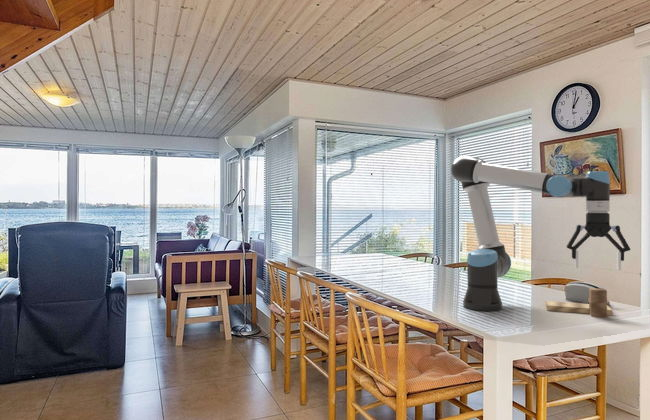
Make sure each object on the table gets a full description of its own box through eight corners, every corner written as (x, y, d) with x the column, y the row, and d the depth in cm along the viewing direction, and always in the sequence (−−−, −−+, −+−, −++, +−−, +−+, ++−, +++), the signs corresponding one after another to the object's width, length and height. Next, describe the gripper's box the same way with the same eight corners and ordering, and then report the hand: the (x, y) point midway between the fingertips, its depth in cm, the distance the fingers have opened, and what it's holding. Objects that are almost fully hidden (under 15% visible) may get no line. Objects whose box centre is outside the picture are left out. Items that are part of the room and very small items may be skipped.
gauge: (591, 316, 161) (591, 289, 161) (584, 307, 174) (584, 283, 175) (606, 317, 159) (606, 290, 159) (598, 308, 173) (598, 284, 173)
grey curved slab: (611, 305, 179) (606, 283, 178) (605, 310, 177) (600, 288, 176) (572, 297, 194) (567, 277, 192) (566, 302, 192) (561, 282, 190)
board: (547, 310, 170) (547, 305, 170) (545, 305, 179) (545, 300, 179) (612, 315, 162) (612, 310, 162) (607, 310, 170) (607, 305, 170)
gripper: (561, 212, 163) (560, 267, 163) (640, 212, 153) (639, 271, 153) (559, 212, 170) (558, 265, 170) (634, 212, 160) (634, 269, 160)
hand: (597, 268), depth 162 cm, fingers open, 13 cm apart
